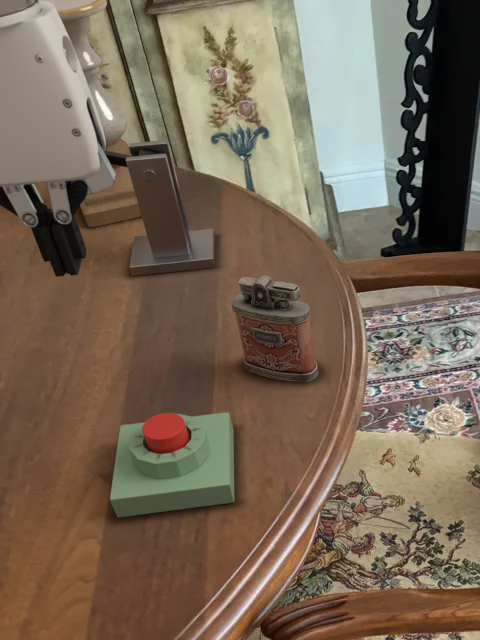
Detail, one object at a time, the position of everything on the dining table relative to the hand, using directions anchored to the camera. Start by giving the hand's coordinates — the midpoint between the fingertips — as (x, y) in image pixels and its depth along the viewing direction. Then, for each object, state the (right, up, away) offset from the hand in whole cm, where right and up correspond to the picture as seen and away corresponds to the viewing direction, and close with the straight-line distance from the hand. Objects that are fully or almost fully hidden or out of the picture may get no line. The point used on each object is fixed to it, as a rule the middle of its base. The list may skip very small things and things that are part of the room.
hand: (69, 266), depth 61 cm
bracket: (-3, +14, +37) cm, 40 cm away
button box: (+6, -15, +9) cm, 19 cm away
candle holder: (-13, +25, +48) cm, 56 cm away
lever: (-8, +21, +28) cm, 36 cm away
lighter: (+14, -4, +20) cm, 24 cm away
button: (+6, -13, +7) cm, 16 cm away
